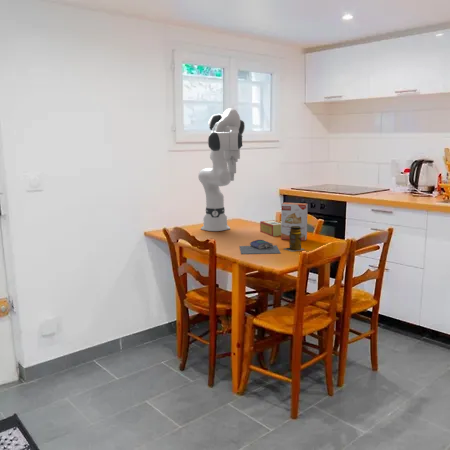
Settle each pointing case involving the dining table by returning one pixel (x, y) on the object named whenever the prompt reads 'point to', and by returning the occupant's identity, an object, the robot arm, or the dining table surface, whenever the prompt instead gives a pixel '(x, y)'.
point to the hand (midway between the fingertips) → (232, 180)
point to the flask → (261, 244)
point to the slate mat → (259, 250)
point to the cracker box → (293, 219)
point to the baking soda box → (270, 227)
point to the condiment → (295, 239)
